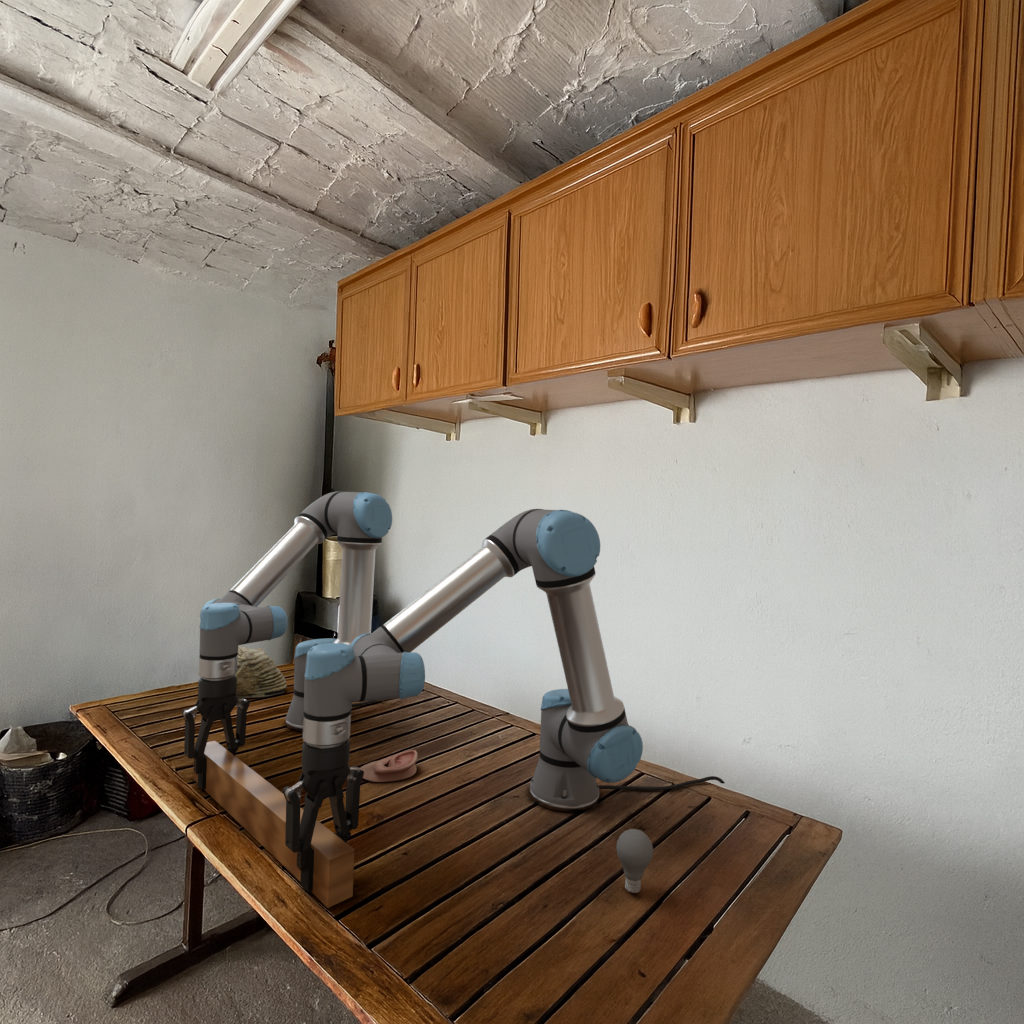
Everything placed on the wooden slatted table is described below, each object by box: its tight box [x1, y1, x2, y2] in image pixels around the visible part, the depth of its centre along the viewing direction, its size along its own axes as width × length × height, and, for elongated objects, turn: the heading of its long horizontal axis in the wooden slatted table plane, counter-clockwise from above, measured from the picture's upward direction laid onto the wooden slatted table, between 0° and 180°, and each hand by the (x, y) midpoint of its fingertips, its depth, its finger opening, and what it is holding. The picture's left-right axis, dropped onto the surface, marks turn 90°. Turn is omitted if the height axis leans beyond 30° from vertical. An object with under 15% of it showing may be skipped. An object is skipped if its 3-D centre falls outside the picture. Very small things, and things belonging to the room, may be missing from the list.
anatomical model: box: [358, 749, 419, 783], centre depth 147 cm, size 13×4×12 cm
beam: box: [192, 740, 356, 909], centre depth 120 cm, size 59×4×8 cm, turn 45°
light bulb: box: [615, 828, 654, 894], centre depth 106 cm, size 6×6×10 cm
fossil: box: [235, 646, 288, 699], centre depth 198 cm, size 9×18×15 cm, turn 132°
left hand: (214, 783), depth 136 cm, fingers closed on beam, 4 cm apart
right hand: (321, 880), depth 104 cm, fingers closed on beam, 4 cm apart
